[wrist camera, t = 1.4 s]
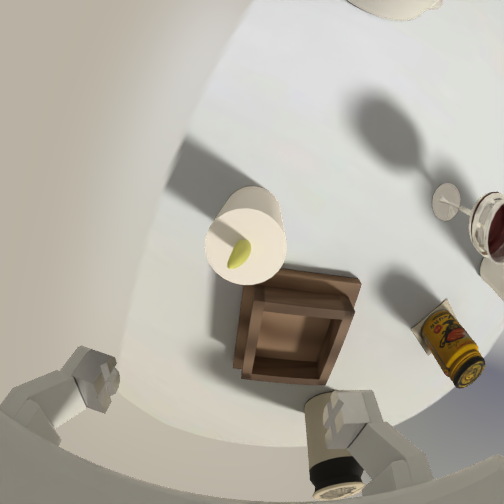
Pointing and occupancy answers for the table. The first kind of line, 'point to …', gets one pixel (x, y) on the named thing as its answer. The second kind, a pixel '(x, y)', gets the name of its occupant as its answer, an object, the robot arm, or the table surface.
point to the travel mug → (329, 457)
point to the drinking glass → (493, 276)
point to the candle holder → (294, 326)
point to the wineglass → (476, 219)
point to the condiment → (450, 345)
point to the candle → (247, 237)
